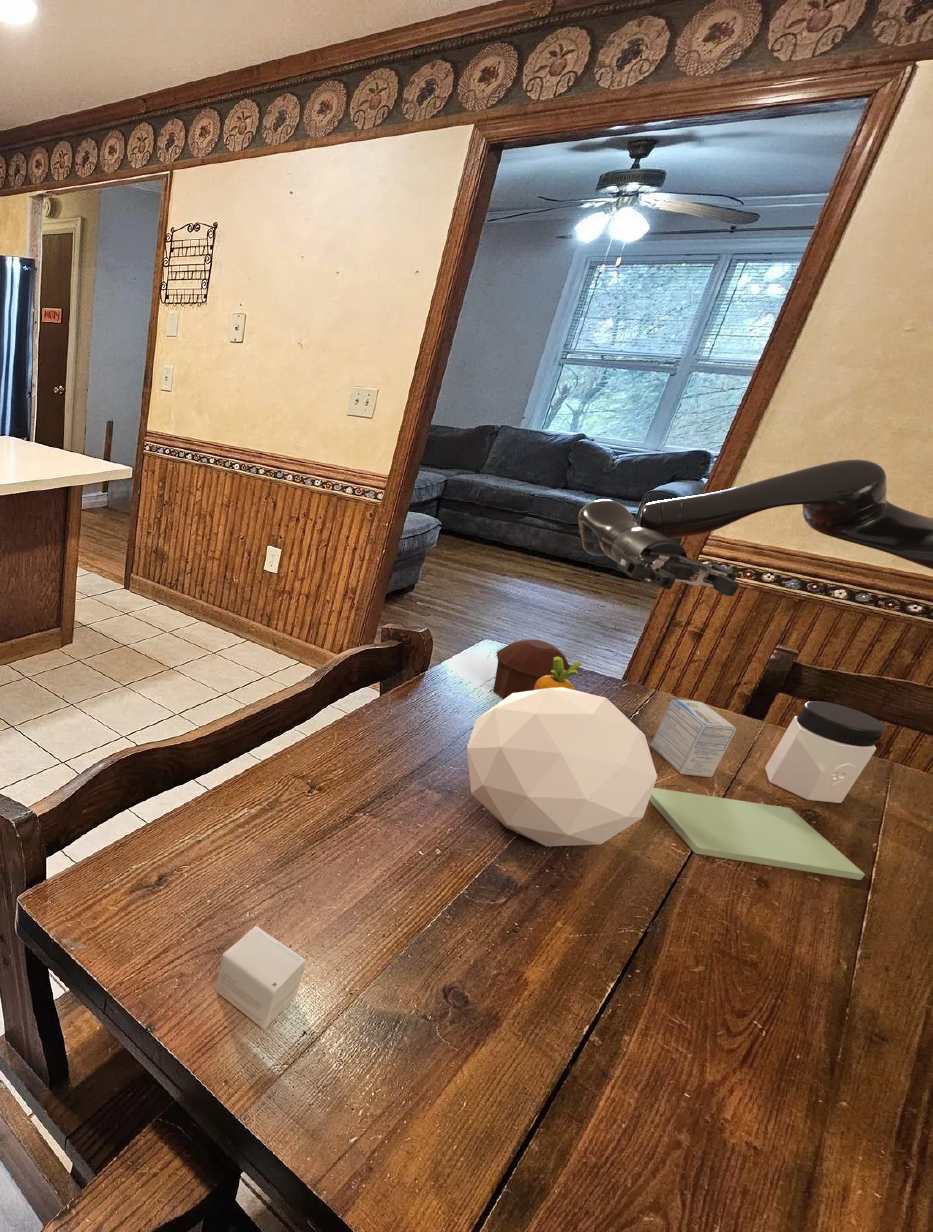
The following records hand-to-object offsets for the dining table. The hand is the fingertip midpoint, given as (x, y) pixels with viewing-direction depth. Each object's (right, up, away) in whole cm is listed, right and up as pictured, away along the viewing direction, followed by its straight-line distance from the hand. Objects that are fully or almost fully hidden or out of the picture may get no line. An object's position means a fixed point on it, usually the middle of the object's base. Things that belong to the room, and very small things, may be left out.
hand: (701, 586), depth 109 cm
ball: (-37, -32, -16) cm, 51 cm away
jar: (+11, -30, -4) cm, 32 cm away
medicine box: (-4, -27, 0) cm, 27 cm away
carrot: (-24, -24, +2) cm, 35 cm away
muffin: (-17, -18, +17) cm, 30 cm away
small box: (-79, -42, -41) cm, 98 cm away
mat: (-8, -34, -15) cm, 38 cm away
